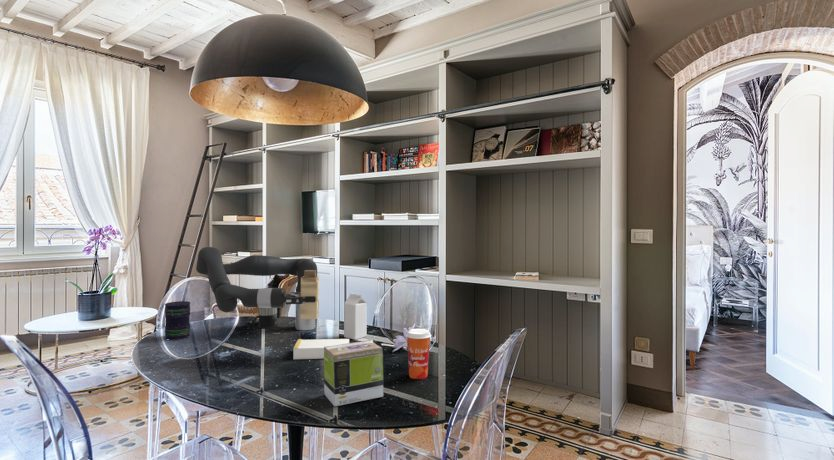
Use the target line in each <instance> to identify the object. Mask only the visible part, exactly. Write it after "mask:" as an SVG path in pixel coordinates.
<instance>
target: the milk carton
mask: <svg viewBox="0 0 834 460" xmlns="http://www.w3.org/2000/svg"><path fill="white" fill-rule="evenodd" d="M343 304H344V305H343V306H344V307H343V337H344V338H345V339H349V340H350V339H352V340H359V339H362V338H366V337H367V333H368V332H367V325H368V324H367V321H368V320H367V319H368V318H367V315H368V314H367V313H368V311H367V309H368V308H367V307H368V304H367V301H366V300H364V298H363V297H362V295H361V294H356V293H349V296H348V298H347V299H346V301H344V303H343Z"/></svg>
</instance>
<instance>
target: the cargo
mask: <svg viewBox="0 0 834 460" xmlns="http://www.w3.org/2000/svg"><path fill="white" fill-rule="evenodd" d="M304 278H316V270H305V271H304Z"/></svg>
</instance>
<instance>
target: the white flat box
mask: <svg viewBox="0 0 834 460" xmlns="http://www.w3.org/2000/svg"><path fill="white" fill-rule="evenodd" d="M347 343H350V338H331V339H330V338H329V339H328V338H326V339H324V338H321V339H320V338H317V339H302V338H298V339H297V340H296V343H295V344H294V346H293V354H292V355H293V359H292V360H313V359H314V360H316V359H323V360H324V347H327V346H334V345H341V344H347Z"/></svg>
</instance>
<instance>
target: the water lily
mask: <svg viewBox="0 0 834 460" xmlns="http://www.w3.org/2000/svg"><path fill="white" fill-rule="evenodd" d="M415 326H416V322H415V323H413V325H411V326H409V327H408V329H407V328H406V327H403V329H402V330H403V331H402V333H403V334H402V335H395V338H396V339H395V340H392V341H393V342H395V343H394V344H393V346H392V347H391V348H394V349H393V350H391V353H394V352H396V351H398V350H400V349H401V348H402V347H403V346H405V345H407V336H406V334H407V333H408V331H409V330H411V329H415Z"/></svg>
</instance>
